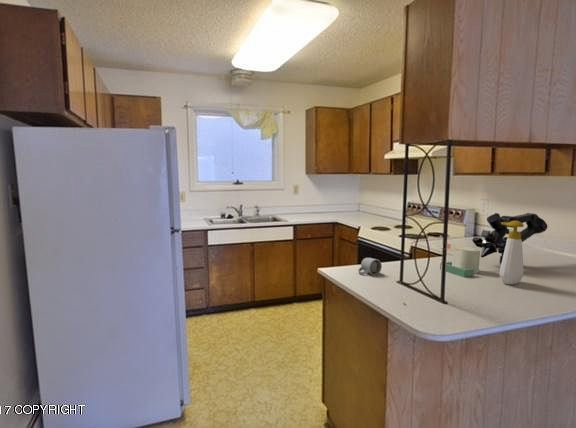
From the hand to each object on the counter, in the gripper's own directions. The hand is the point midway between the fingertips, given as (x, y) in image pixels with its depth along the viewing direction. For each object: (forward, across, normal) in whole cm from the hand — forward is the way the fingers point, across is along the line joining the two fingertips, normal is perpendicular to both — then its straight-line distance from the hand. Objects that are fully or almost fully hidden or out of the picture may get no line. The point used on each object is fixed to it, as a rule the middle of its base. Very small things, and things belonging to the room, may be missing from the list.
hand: (481, 256), depth 185 cm
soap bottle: (+10, +21, -1) cm, 23 cm away
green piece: (+17, 0, -8) cm, 18 cm away
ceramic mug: (+47, -15, -37) cm, 62 cm away
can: (+11, 0, -1) cm, 11 cm away
